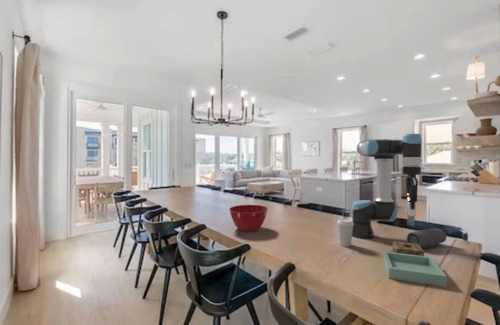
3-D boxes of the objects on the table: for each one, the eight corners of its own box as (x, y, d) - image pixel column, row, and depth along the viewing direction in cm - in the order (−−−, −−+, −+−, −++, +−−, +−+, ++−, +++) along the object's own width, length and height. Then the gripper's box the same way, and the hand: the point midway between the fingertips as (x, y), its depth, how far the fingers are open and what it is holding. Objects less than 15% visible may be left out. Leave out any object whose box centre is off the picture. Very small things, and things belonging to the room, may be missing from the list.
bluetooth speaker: (431, 241, 159) (431, 225, 159) (447, 246, 150) (447, 229, 150) (405, 246, 151) (405, 229, 151) (420, 251, 142) (421, 234, 142)
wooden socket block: (396, 259, 131) (396, 248, 131) (392, 251, 142) (392, 241, 142) (423, 263, 127) (424, 251, 126) (417, 254, 138) (418, 243, 138)
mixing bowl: (222, 232, 178) (222, 210, 178) (239, 222, 205) (239, 203, 204) (260, 237, 168) (260, 213, 167) (272, 225, 194) (272, 205, 194)
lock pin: (407, 225, 121) (407, 194, 121) (405, 223, 125) (405, 193, 124) (417, 226, 119) (417, 194, 119) (414, 224, 123) (415, 193, 123)
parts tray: (388, 278, 111) (388, 268, 111) (382, 259, 131) (383, 251, 131) (446, 287, 104) (446, 276, 104) (431, 266, 123) (431, 257, 123)
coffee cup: (353, 243, 156) (353, 218, 156) (354, 248, 147) (354, 222, 147) (336, 241, 159) (337, 217, 159) (336, 246, 150) (337, 221, 150)
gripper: (425, 166, 113) (425, 219, 113) (416, 165, 128) (416, 212, 128) (406, 166, 116) (405, 217, 116) (399, 165, 131) (399, 211, 131)
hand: (411, 214), depth 122 cm, fingers closed on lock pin, 3 cm apart
